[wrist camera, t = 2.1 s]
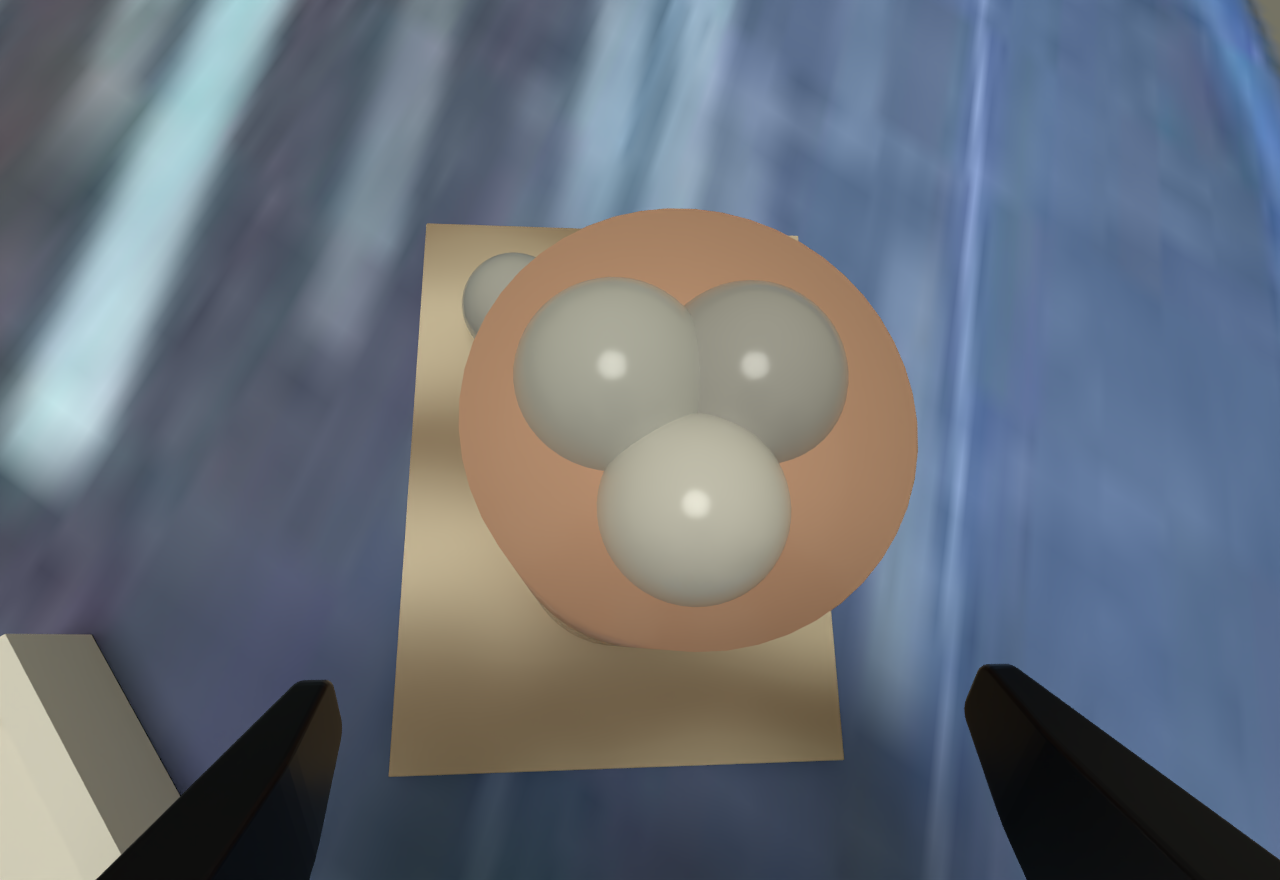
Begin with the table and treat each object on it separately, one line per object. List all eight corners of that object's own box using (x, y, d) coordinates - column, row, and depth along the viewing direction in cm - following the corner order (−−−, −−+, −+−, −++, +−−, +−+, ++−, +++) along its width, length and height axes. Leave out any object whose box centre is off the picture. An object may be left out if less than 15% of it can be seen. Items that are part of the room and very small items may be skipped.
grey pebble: (587, 341, 22) (590, 295, 19) (505, 392, 21) (494, 354, 18) (533, 267, 22) (527, 212, 20) (450, 316, 22) (431, 266, 19)
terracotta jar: (750, 569, 20) (1064, 444, 8) (596, 687, 19) (657, 780, 6) (639, 421, 21) (751, 82, 8) (485, 525, 20) (339, 312, 7)
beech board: (837, 757, 20) (843, 759, 19) (393, 773, 19) (388, 776, 18) (793, 244, 24) (798, 235, 24) (429, 232, 23) (426, 223, 22)
